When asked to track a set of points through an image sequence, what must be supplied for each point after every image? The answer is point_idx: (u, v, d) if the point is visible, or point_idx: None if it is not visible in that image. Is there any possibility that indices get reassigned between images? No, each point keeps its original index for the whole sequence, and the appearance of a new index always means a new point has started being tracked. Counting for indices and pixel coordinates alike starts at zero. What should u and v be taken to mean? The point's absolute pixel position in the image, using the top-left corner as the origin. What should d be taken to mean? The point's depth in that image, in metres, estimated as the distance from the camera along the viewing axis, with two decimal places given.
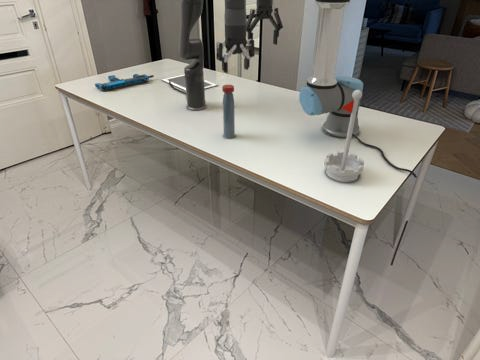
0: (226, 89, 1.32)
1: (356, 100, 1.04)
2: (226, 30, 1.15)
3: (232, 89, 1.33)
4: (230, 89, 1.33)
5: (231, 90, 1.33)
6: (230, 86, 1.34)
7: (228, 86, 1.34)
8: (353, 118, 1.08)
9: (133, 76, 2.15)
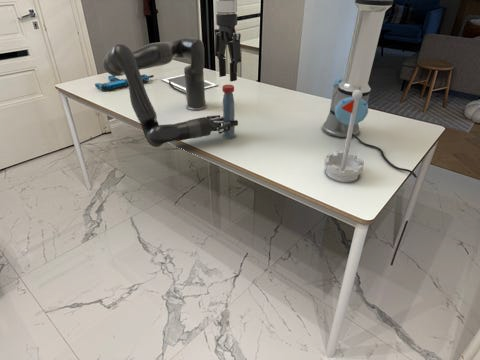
0: (226, 89, 1.32)
1: (356, 100, 1.04)
2: None
3: (232, 89, 1.33)
4: (230, 89, 1.33)
5: (231, 90, 1.33)
6: (230, 86, 1.34)
7: (228, 86, 1.34)
8: (353, 118, 1.08)
9: None
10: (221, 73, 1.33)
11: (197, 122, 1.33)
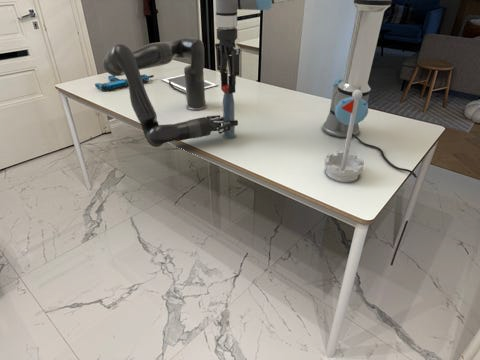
0: (226, 89, 1.32)
1: (356, 100, 1.04)
2: None
3: None
4: None
5: None
6: None
7: None
8: (353, 118, 1.08)
9: None
10: None
11: (197, 122, 1.33)
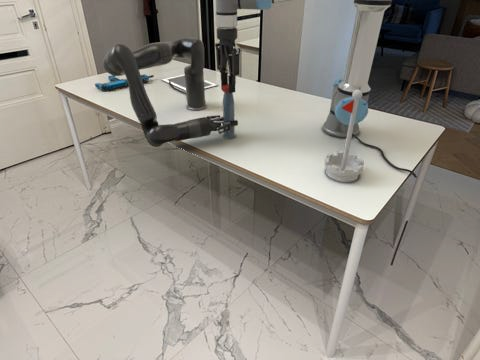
0: None
1: (356, 100, 1.04)
2: None
3: None
4: None
5: None
6: None
7: None
8: (353, 118, 1.08)
9: None
10: None
11: (197, 122, 1.33)
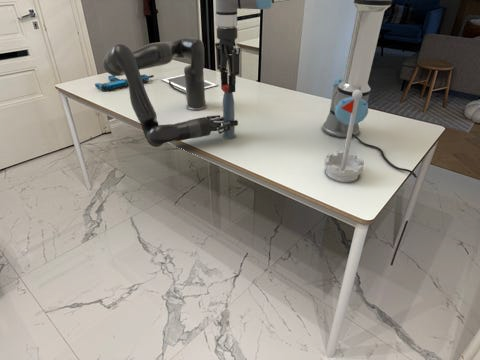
0: None
1: (356, 100, 1.04)
2: None
3: None
4: None
5: None
6: (225, 85, 1.34)
7: (227, 85, 1.34)
8: (353, 118, 1.08)
9: None
10: None
11: (197, 122, 1.33)
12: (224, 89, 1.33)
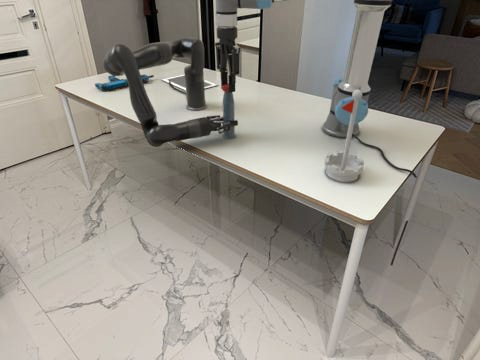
0: (222, 86, 1.34)
1: (356, 100, 1.04)
2: None
3: (226, 89, 1.32)
4: (224, 88, 1.33)
5: (224, 90, 1.33)
6: None
7: (227, 85, 1.33)
8: (353, 118, 1.08)
9: None
10: None
11: (197, 122, 1.33)
12: None
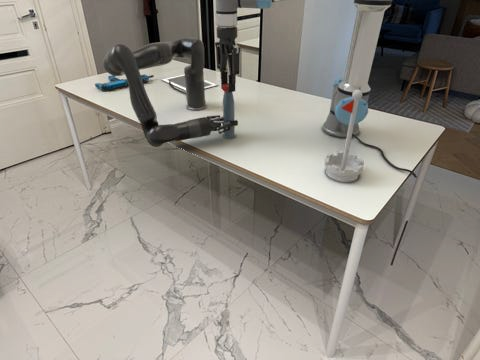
0: (228, 88, 1.32)
1: (356, 100, 1.04)
2: None
3: None
4: None
5: None
6: None
7: None
8: (353, 118, 1.08)
9: None
10: None
11: (197, 122, 1.33)
12: None
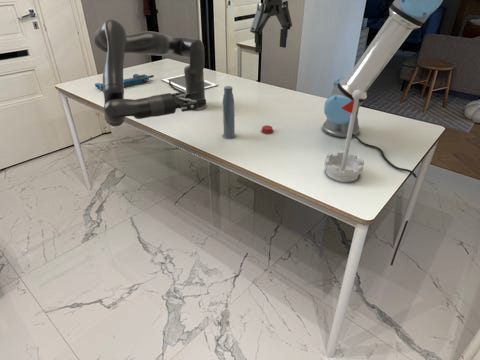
0: None
1: (356, 100, 1.04)
2: None
3: None
4: None
5: None
6: (266, 126, 1.49)
7: (267, 127, 1.49)
8: (353, 118, 1.08)
9: (133, 76, 2.15)
10: None
11: (160, 98, 1.21)
12: None
